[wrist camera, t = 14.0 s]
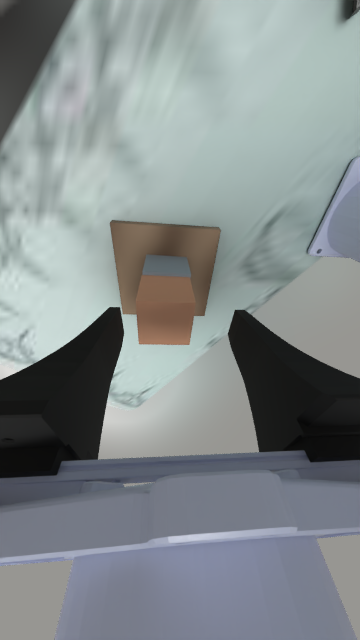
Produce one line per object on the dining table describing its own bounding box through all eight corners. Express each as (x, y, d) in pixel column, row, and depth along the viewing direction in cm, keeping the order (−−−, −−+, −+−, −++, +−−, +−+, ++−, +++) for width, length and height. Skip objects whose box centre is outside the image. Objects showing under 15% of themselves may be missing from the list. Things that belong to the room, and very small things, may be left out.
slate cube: (186, 257, 19) (191, 274, 16) (182, 292, 21) (186, 312, 18) (146, 254, 18) (142, 271, 15) (147, 290, 21) (144, 311, 18)
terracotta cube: (189, 277, 16) (195, 303, 13) (185, 315, 18) (189, 344, 15) (141, 274, 15) (135, 301, 12) (143, 314, 18) (138, 344, 15)
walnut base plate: (218, 227, 18) (220, 229, 17) (203, 311, 24) (204, 316, 23) (112, 220, 17) (109, 222, 16) (124, 309, 23) (123, 314, 23)
